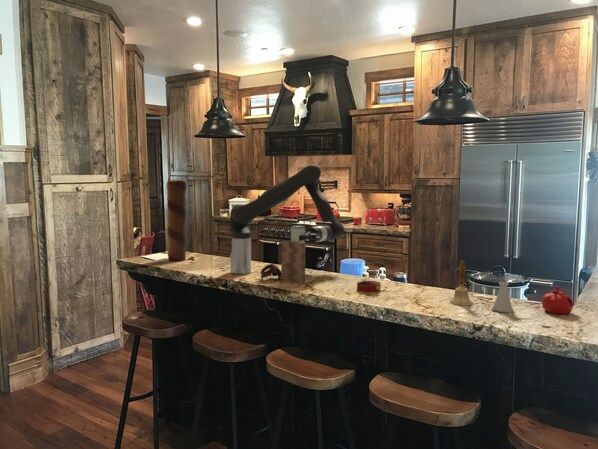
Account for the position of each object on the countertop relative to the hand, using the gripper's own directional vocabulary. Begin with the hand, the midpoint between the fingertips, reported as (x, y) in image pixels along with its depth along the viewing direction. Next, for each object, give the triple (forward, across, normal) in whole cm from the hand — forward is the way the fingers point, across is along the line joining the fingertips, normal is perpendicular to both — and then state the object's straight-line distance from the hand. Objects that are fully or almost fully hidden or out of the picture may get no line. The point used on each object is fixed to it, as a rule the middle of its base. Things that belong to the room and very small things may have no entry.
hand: (295, 237), depth 215 cm
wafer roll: (-7, -86, +20) cm, 89 cm away
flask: (-4, +87, +20) cm, 89 cm away
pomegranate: (-13, +103, +20) cm, 106 cm away
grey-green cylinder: (-2, 0, +7) cm, 7 cm away
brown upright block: (-1, 0, +20) cm, 20 cm away
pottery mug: (+3, -11, +20) cm, 23 cm away
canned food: (-5, +34, +20) cm, 40 cm away
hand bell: (-6, +72, +20) cm, 75 cm away
